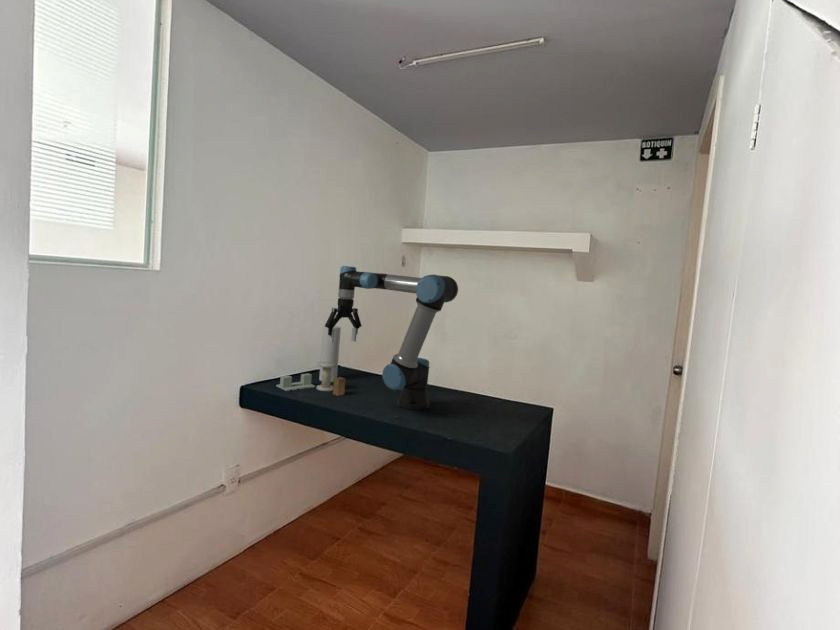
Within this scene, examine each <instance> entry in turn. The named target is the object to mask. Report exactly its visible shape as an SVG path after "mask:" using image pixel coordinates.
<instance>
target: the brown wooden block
mask: <svg viewBox="0 0 840 630" xmlns="http://www.w3.org/2000/svg"><path fill="white" fill-rule="evenodd" d="M332 386H333V391H332V395H333V396H337V397H338V396H340V397H341V396H344V395H345V392H346V391H345V389H346V378H344V377H342V376H339V377H338V376H337V378H334V382H333V384H332Z"/></svg>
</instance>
